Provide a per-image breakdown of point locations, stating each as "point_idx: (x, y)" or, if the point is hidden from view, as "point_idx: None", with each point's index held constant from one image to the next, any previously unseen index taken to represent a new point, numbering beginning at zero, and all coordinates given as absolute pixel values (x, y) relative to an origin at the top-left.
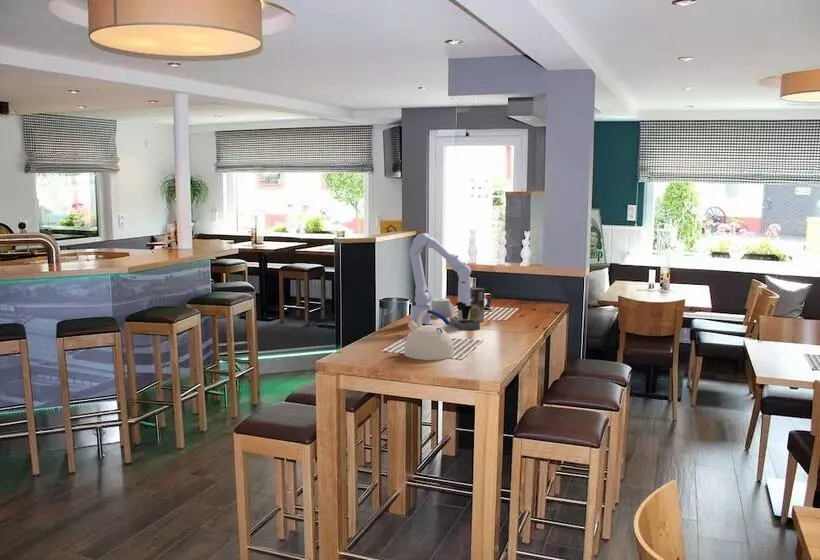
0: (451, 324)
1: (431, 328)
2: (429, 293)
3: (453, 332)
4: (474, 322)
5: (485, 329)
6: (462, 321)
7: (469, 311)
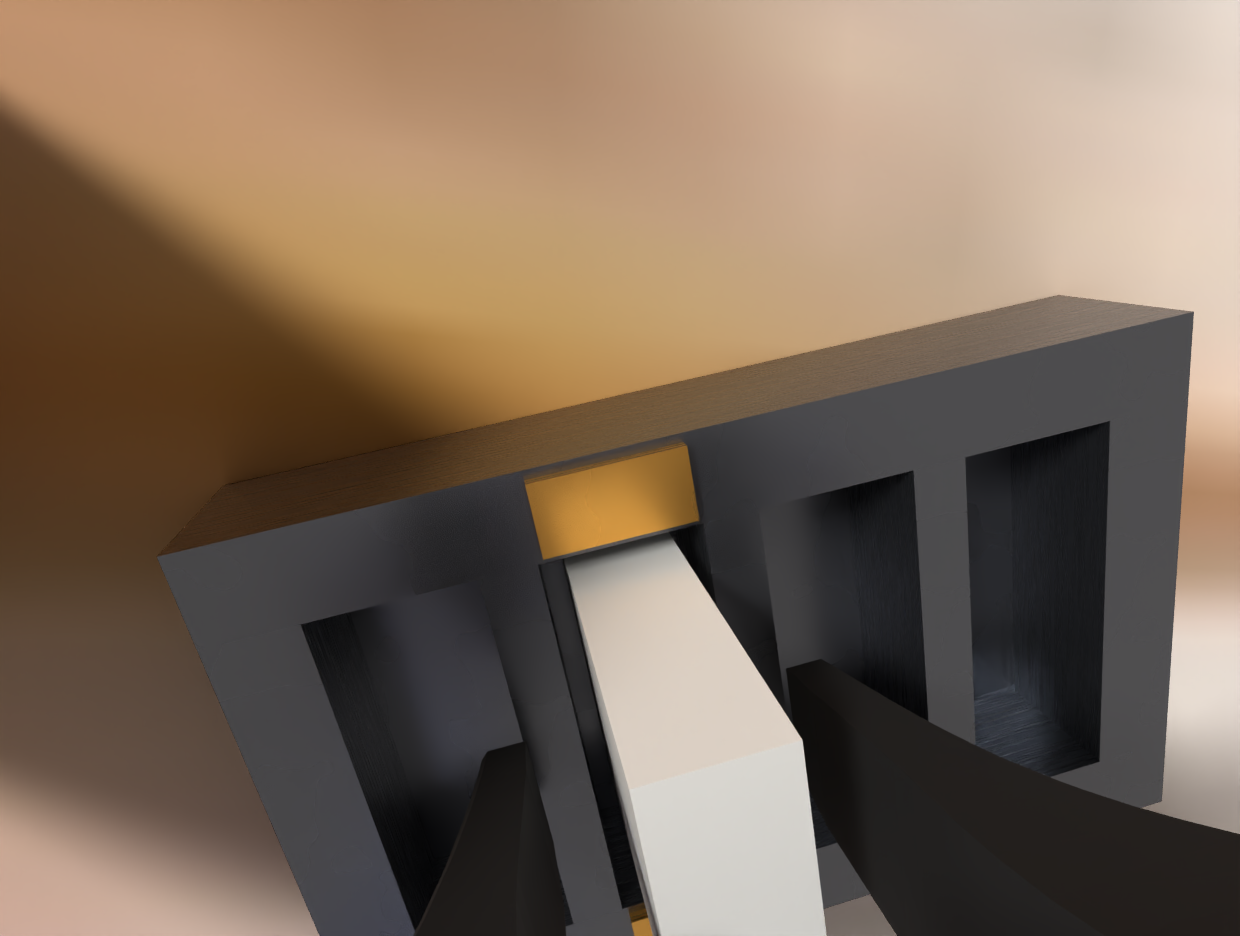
0: None
1: None
2: None
3: (1219, 792)
4: (987, 442)
5: (1095, 145)
6: None
7: (787, 744)
